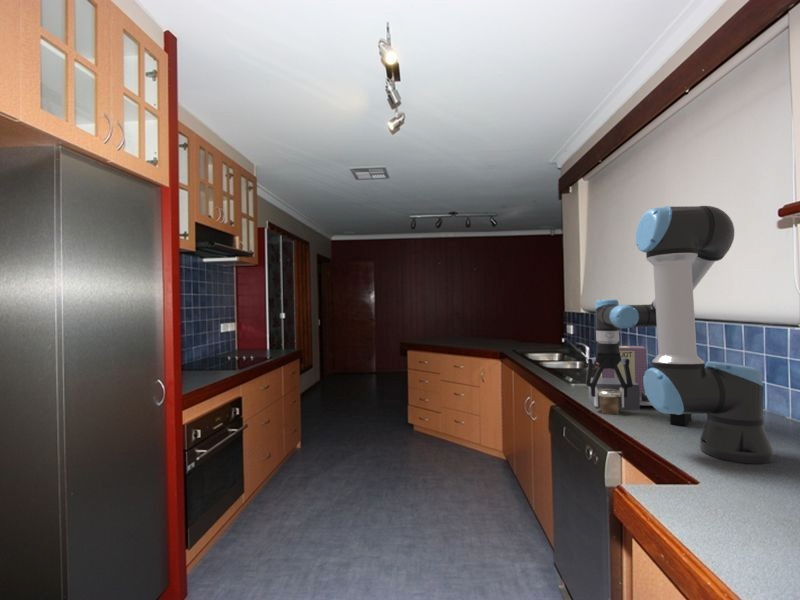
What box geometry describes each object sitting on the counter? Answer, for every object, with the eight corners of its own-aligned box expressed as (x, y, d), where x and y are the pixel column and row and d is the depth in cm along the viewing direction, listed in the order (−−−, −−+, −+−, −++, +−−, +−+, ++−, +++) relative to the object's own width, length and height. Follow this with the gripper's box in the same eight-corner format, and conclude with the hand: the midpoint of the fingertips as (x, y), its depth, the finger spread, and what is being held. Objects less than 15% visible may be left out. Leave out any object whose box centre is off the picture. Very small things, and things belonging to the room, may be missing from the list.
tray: (628, 407, 162) (628, 388, 162) (619, 399, 175) (618, 382, 175) (679, 409, 158) (679, 390, 158) (666, 401, 171) (665, 383, 171)
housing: (595, 408, 164) (594, 383, 164) (588, 399, 178) (588, 377, 178) (639, 409, 161) (639, 384, 161) (629, 401, 174) (628, 378, 174)
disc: (610, 398, 153) (610, 393, 153) (591, 394, 160) (591, 390, 160) (626, 396, 156) (626, 391, 156) (606, 392, 163) (606, 387, 163)
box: (643, 392, 189) (642, 346, 189) (647, 397, 180) (646, 348, 180) (600, 390, 195) (599, 345, 195) (602, 394, 186) (601, 347, 186)
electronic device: (691, 420, 146) (691, 390, 146) (685, 427, 138) (684, 395, 138) (677, 418, 148) (676, 388, 148) (669, 424, 141) (669, 393, 141)
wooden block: (603, 413, 156) (602, 396, 156) (600, 410, 161) (599, 393, 161) (618, 414, 155) (618, 397, 155) (615, 410, 160) (614, 394, 160)
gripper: (578, 343, 157) (579, 407, 157) (642, 343, 152) (644, 409, 152) (575, 341, 164) (576, 402, 164) (636, 341, 159) (637, 404, 159)
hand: (609, 406), depth 158 cm, fingers closed on disc, 8 cm apart
